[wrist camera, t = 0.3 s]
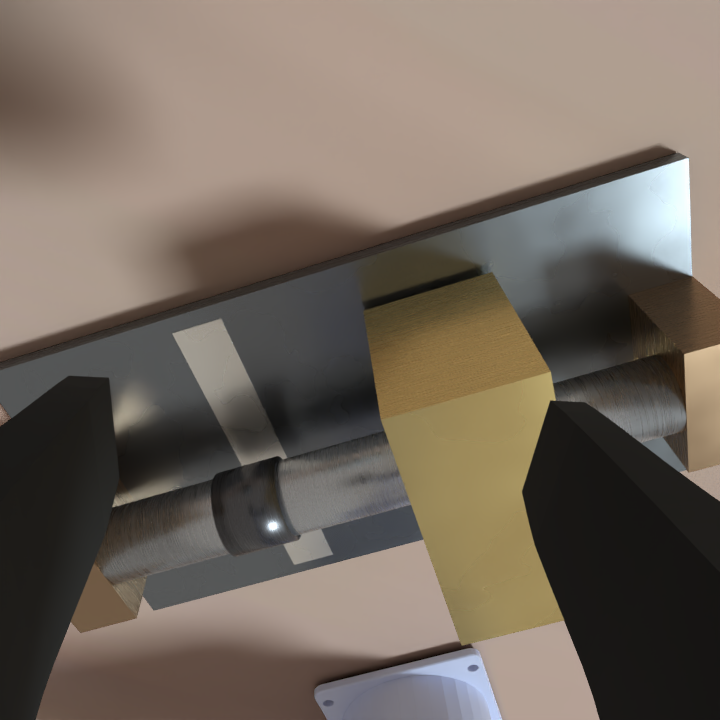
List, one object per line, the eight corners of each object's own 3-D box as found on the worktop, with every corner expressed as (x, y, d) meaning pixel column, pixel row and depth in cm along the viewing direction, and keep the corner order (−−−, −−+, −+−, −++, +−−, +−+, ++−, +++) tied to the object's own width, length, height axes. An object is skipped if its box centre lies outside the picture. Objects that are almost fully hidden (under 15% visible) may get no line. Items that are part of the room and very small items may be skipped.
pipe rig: (689, 456, 25) (755, 542, 21) (156, 597, 27) (133, 699, 24) (677, 152, 19) (768, 200, 15) (-12, 365, 21) (-80, 453, 17)
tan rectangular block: (537, 486, 24) (592, 613, 20) (432, 514, 25) (461, 645, 20) (492, 271, 20) (550, 371, 15) (363, 310, 20) (380, 420, 15)
